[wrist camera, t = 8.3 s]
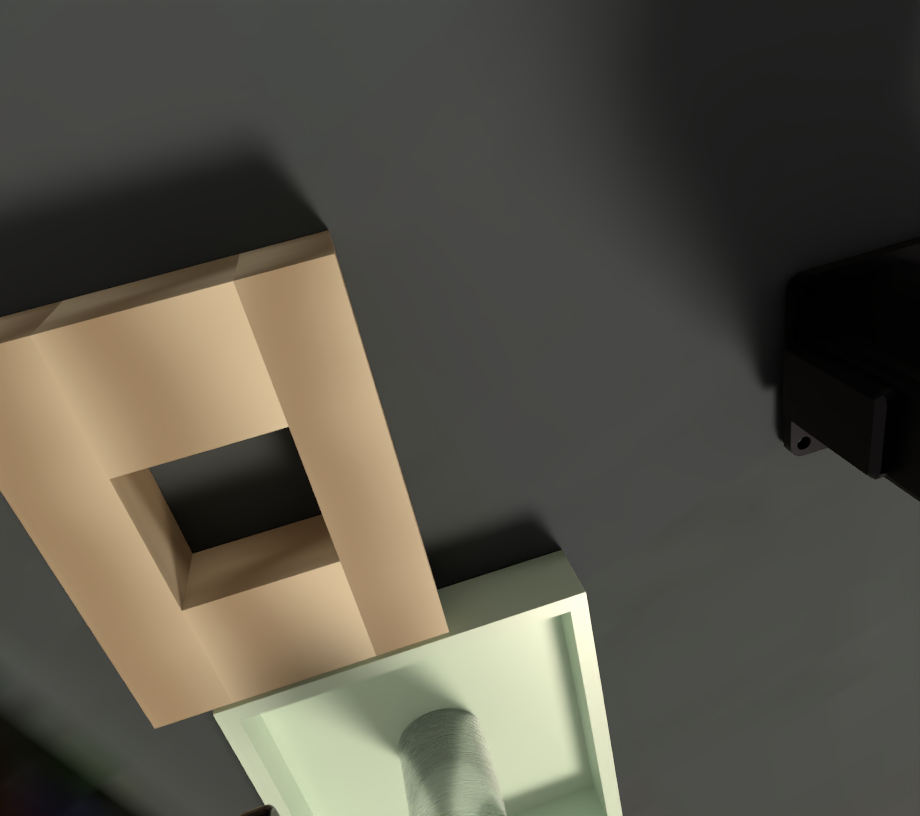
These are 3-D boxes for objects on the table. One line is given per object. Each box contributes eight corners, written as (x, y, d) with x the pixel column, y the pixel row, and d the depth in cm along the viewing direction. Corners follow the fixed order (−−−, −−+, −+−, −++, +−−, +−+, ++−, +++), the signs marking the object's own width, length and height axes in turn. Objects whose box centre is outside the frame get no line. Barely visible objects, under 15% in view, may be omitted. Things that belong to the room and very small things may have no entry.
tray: (561, 549, 24) (585, 592, 22) (602, 776, 30) (624, 825, 28) (219, 659, 23) (212, 714, 21) (334, 872, 29) (337, 930, 27)
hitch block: (329, 230, 18) (334, 253, 16) (434, 579, 23) (449, 632, 21) (-34, 326, 17) (-81, 365, 15) (167, 664, 23) (155, 728, 20)
